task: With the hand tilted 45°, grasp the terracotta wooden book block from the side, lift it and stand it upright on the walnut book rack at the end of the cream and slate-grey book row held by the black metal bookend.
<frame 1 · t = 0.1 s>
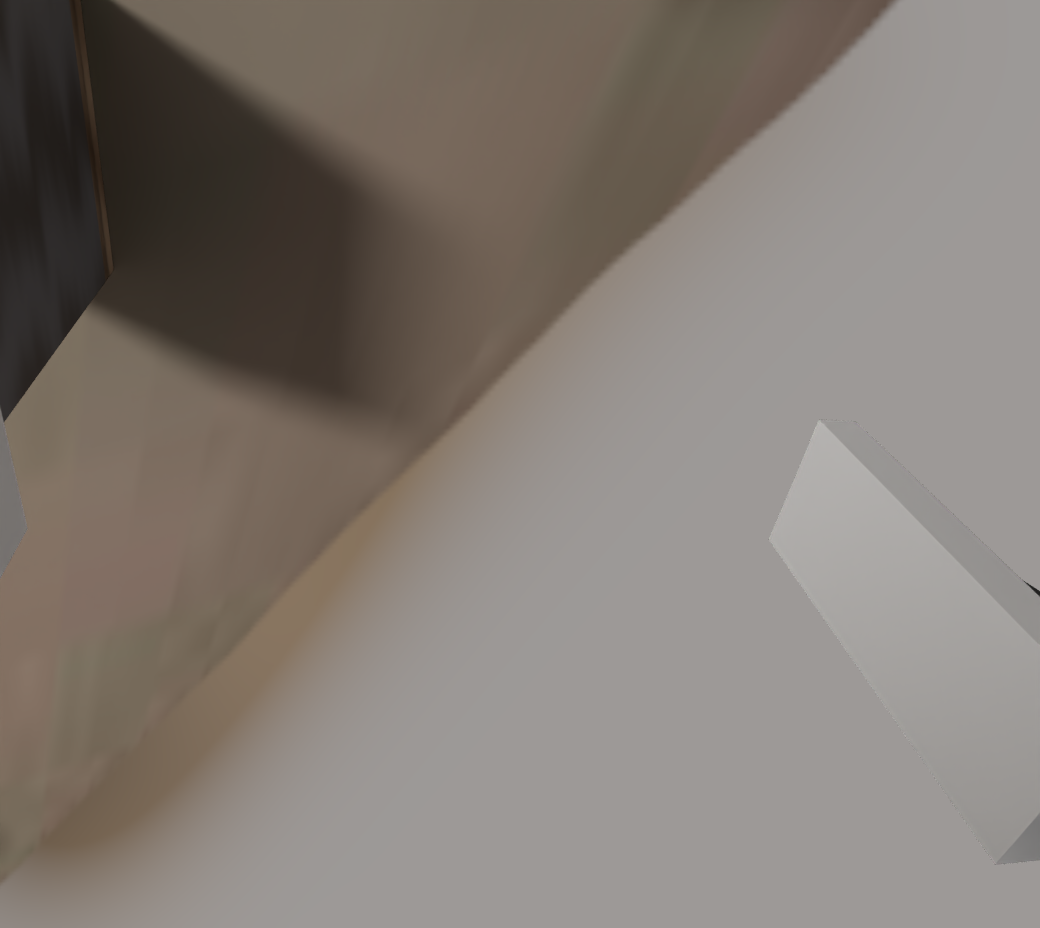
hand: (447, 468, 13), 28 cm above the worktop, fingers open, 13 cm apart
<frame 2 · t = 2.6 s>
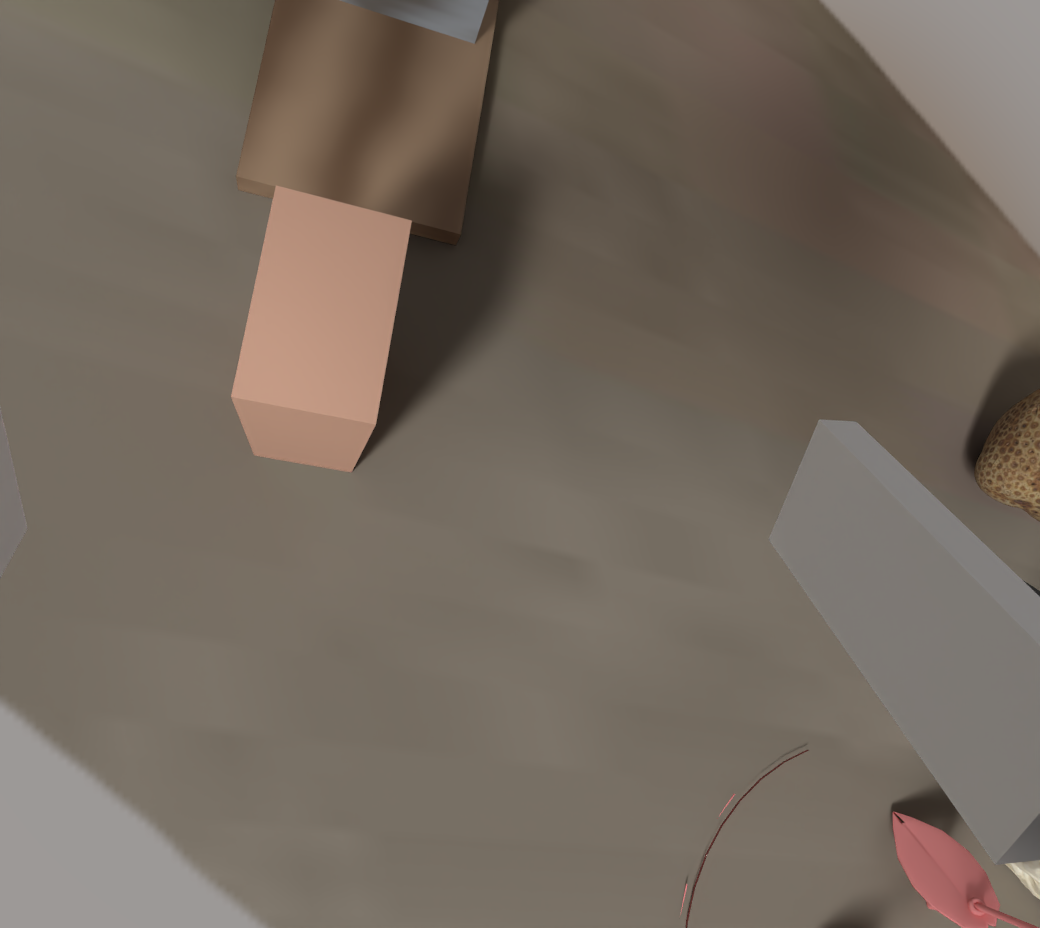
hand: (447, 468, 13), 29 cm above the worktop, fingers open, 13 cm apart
terracotta book: (317, 390, 41), on the worktop
figurine: (816, 879, 46), on the worktop
book rack: (378, 74, 45), on the worktop
natural sponge: (994, 467, 53), on the worktop
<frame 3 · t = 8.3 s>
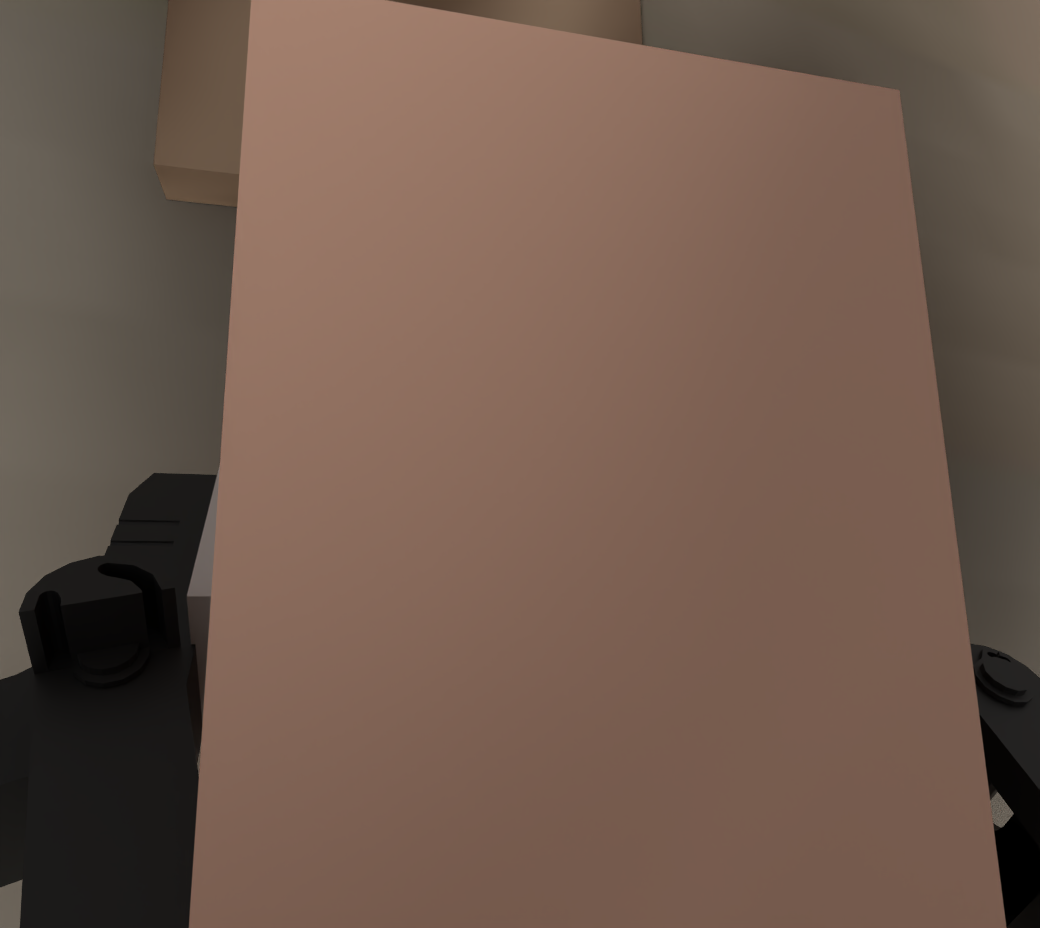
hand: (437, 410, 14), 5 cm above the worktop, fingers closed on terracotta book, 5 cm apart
terracotta book: (408, 616, 18), on the worktop, touching gripper
when the fingers open (7 cm above the worktop, at t = 15.1 s): terracotta book drops 1 cm, resting on book rack.
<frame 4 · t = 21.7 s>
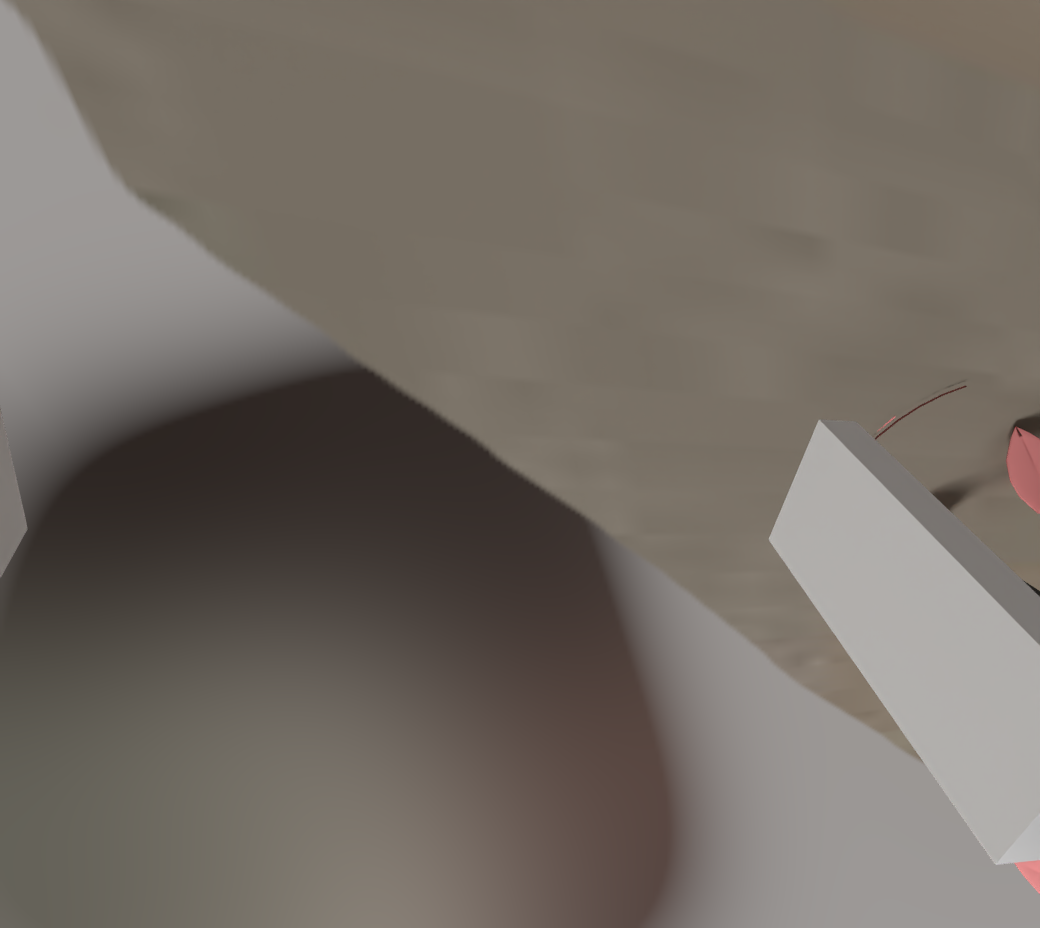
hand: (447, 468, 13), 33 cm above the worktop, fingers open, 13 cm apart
figurine: (935, 466, 61), on the worktop
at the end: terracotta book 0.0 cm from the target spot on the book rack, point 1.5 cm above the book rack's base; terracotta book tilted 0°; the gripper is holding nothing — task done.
